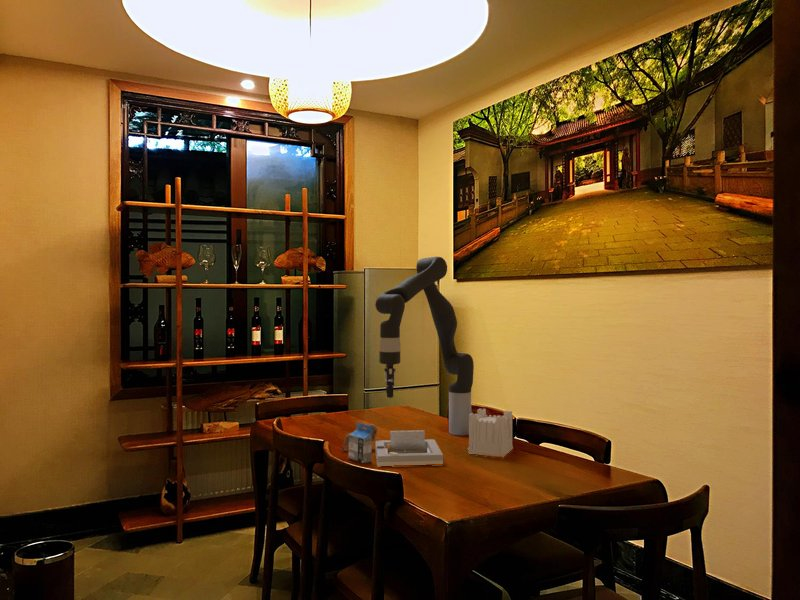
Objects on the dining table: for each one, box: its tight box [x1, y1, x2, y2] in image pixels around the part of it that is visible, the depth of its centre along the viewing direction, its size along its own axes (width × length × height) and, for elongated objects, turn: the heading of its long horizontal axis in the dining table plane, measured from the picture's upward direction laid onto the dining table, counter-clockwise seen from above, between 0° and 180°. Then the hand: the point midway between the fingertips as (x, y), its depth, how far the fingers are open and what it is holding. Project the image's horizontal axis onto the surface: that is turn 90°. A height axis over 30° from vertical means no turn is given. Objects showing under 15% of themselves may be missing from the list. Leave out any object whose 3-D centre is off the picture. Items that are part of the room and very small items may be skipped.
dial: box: [387, 429, 427, 454], centre depth 211 cm, size 14×14×8 cm
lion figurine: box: [340, 423, 378, 452], centre depth 221 cm, size 15×5×9 cm, turn 120°
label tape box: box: [348, 421, 373, 464], centre depth 208 cm, size 9×4×12 cm, turn 40°
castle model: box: [467, 408, 514, 457], centre depth 218 cm, size 13×15×14 cm
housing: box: [374, 438, 444, 468], centre depth 211 cm, size 22×22×4 cm
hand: (389, 395), depth 214 cm, fingers open, 8 cm apart
